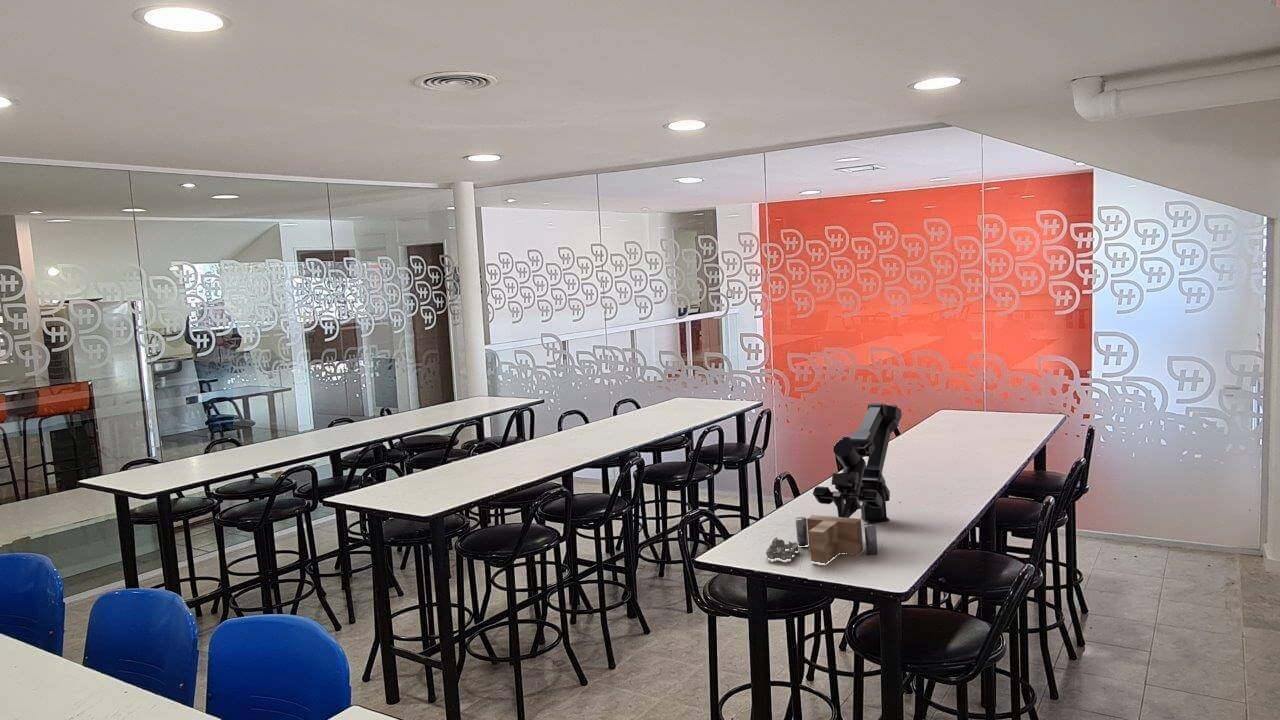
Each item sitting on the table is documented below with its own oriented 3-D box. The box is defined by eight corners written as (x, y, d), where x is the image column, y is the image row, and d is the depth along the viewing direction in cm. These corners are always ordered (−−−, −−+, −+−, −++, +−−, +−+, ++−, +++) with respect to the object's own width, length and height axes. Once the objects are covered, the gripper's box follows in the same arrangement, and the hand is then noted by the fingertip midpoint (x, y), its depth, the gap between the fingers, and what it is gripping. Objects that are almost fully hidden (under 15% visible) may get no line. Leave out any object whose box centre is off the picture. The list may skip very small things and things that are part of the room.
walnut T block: (815, 546, 240) (812, 514, 239) (863, 551, 232) (860, 518, 231) (794, 562, 228) (791, 529, 228) (843, 568, 220) (841, 534, 219)
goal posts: (800, 544, 242) (798, 516, 242) (879, 552, 229) (877, 523, 228) (796, 547, 240) (793, 519, 239) (875, 556, 227) (873, 527, 226)
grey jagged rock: (776, 550, 240) (775, 536, 240) (802, 552, 237) (801, 537, 236) (763, 562, 231) (762, 547, 231) (789, 564, 227) (788, 549, 227)
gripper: (812, 459, 245) (799, 507, 238) (875, 462, 234) (864, 512, 227) (825, 478, 252) (813, 526, 245) (887, 482, 242) (877, 532, 234)
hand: (841, 523), depth 237 cm, fingers closed
